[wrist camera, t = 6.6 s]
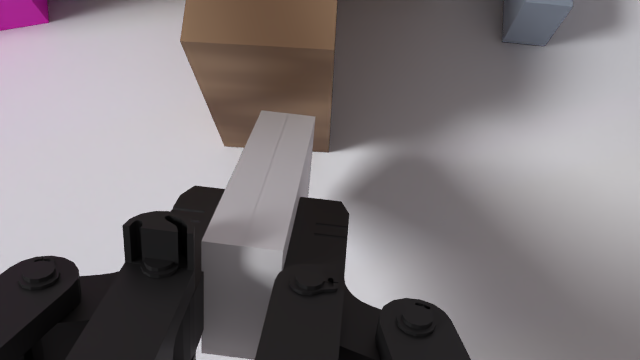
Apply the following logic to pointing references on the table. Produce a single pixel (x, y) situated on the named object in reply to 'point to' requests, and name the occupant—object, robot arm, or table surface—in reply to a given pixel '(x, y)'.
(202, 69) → the t block
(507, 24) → the pocket
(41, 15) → the toy block
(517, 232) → the table surface
